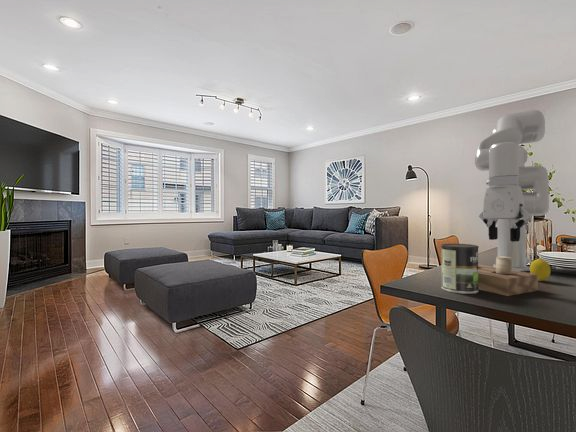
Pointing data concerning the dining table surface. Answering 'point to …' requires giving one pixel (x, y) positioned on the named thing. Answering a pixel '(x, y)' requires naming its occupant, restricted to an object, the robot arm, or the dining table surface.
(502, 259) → the dowel
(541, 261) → the lemon
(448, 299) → the dining table surface
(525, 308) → the dining table surface
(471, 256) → the coffee can
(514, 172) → the robot arm
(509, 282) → the mortise block
